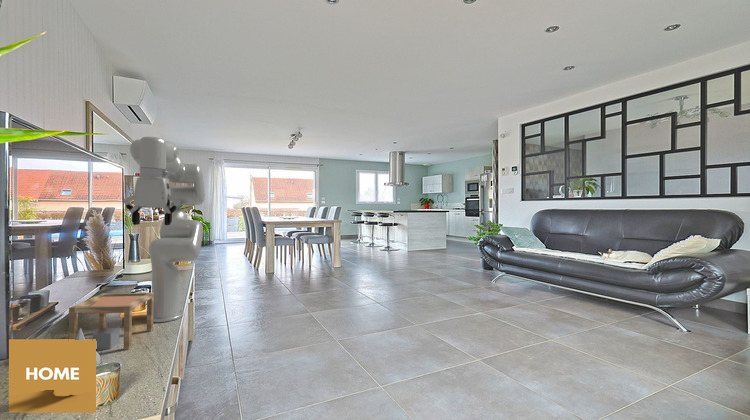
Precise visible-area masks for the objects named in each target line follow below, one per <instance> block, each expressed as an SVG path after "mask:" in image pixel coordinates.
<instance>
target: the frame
mask: <svg viewBox="0 0 750 420" xmlns="http://www.w3.org/2000/svg"><path fill="white" fill-rule="evenodd" d="M104 296H142V297H141V298H139V299H137V300H135V301H134V302H132V303H130V304H128V305H117V306H91V305H93V304H94V303H96V302H97V301H98V300H100V299H101V298H102V297H104ZM144 303H146V332H147V333H149V332H148V331H151V332H153V331H154V322H153V309H154V293H152V292H113V293H107V292H106V293H100V294H98V295H95V296H93V297H91V298H89V299H87V300H86V299H85V301H84V300H83V301H82V302H79V303H77V304H75V305H73V306H70V307H69V308H68V340H69V339H76V337H77V334H78V332H79V326H78V325H79V314H80V313H81V314H83V313H86V312H124V313H123V350H124V351H126V350H131V348H132V343H133V341H132V340H133V338H132V337H133V310H134V309H136V308H138V307H139V306H141V305H143V304H144ZM102 328H107V313H105V314H98V331H99V330H100V329H102ZM152 330H153V331H152Z"/></svg>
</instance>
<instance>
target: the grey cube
mask: <svg viewBox="0 0 750 420" xmlns="http://www.w3.org/2000/svg"><path fill="white" fill-rule="evenodd" d="M120 333H121V332H120V327H106V328H102V329H100V330H99V329H98V330H97V331H95V332H94V333H93V334H92V340H93V339H96V341H97V350H98V351H99V350H102V351H103V350H111V349H113V348H114V347H115V346H117V345H118V344H119V343H120ZM97 350H96V351H97Z"/></svg>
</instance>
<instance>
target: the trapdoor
mask: <svg viewBox="0 0 750 420" xmlns="http://www.w3.org/2000/svg"><path fill="white" fill-rule="evenodd" d="M141 297H142V296H104V297H102V298H101V299H100V300H98V301H97V302H96V303H94V304H92V305H90V306H117V305H128V304H130V303H132V302H134V301H135V300H137V299H139V298H141ZM105 313H106V314H124V312H86V313H82V314H83V315H95V314H98V315H99V314H105Z"/></svg>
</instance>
